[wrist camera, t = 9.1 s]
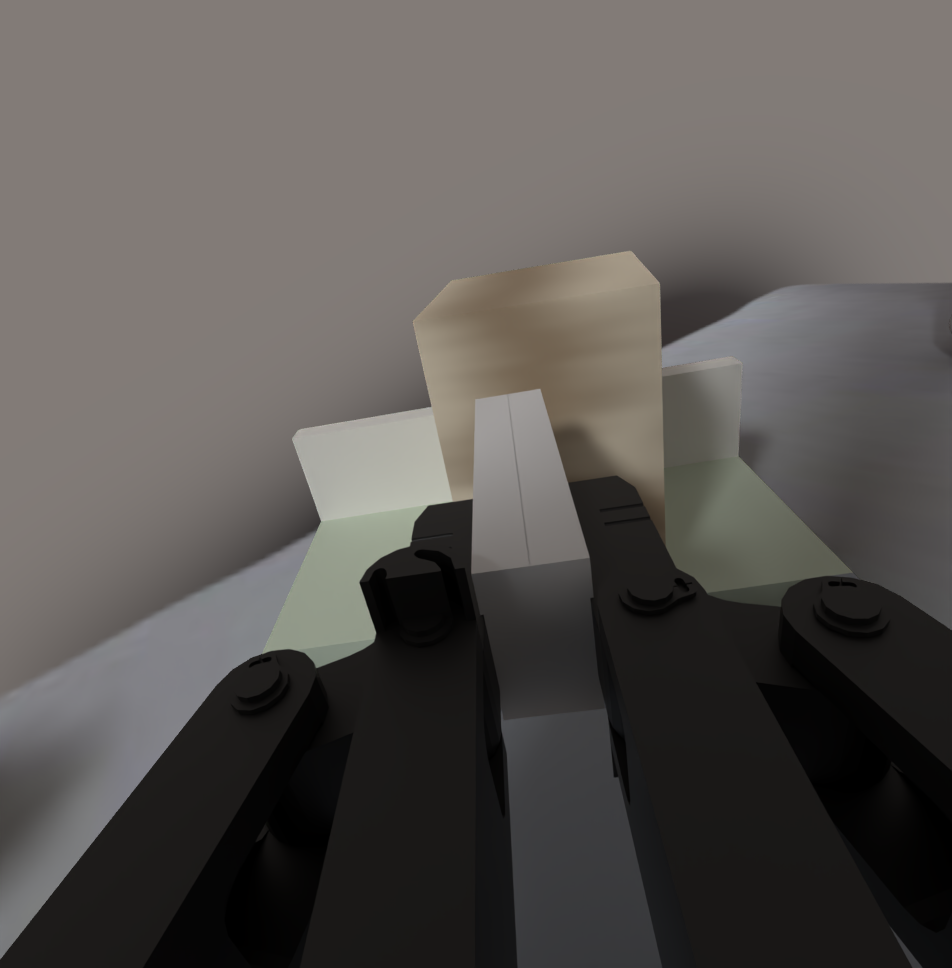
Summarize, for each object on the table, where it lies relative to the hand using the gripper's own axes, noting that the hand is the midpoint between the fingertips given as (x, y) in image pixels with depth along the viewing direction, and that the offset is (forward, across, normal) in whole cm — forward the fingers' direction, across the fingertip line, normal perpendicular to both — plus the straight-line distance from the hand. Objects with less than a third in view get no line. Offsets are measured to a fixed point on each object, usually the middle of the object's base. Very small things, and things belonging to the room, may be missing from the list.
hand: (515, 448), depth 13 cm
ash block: (+5, +1, -6) cm, 8 cm away
